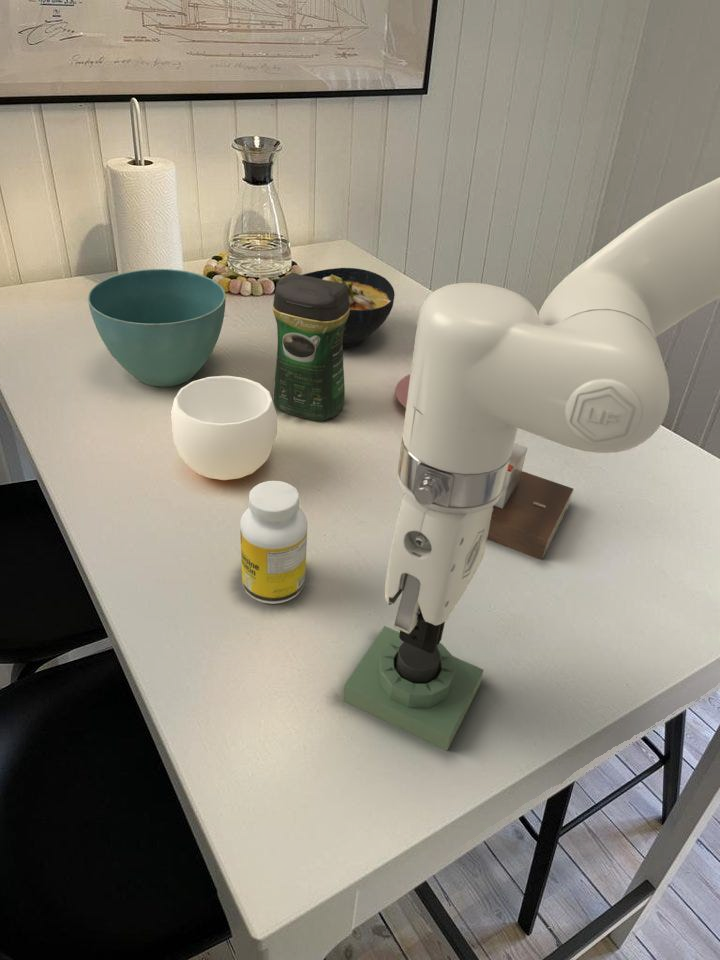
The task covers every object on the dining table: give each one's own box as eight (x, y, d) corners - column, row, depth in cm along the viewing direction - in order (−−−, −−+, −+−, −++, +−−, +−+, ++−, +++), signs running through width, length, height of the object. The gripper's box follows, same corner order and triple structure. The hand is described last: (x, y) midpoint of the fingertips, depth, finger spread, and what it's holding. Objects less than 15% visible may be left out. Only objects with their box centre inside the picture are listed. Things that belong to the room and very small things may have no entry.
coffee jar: (350, 401, 107) (360, 276, 96) (329, 428, 101) (336, 298, 90) (289, 385, 110) (291, 261, 99) (264, 410, 104) (264, 282, 93)
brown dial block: (567, 508, 91) (574, 487, 89) (541, 560, 83) (547, 539, 81) (460, 470, 96) (464, 450, 94) (425, 517, 88) (429, 495, 86)
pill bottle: (246, 560, 80) (243, 472, 73) (307, 563, 80) (310, 476, 73) (237, 605, 74) (234, 515, 68) (303, 608, 75) (306, 519, 68)
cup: (192, 507, 86) (187, 437, 80) (163, 450, 95) (156, 382, 89) (292, 483, 91) (293, 415, 85) (255, 431, 100) (255, 366, 94)
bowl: (408, 336, 126) (415, 278, 120) (351, 374, 114) (355, 312, 108) (326, 307, 133) (328, 251, 127) (263, 340, 121) (263, 280, 115)
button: (444, 661, 66) (446, 648, 65) (427, 690, 63) (430, 677, 62) (407, 644, 67) (409, 631, 66) (389, 672, 65) (391, 659, 64)
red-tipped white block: (503, 476, 90) (511, 440, 87) (519, 482, 89) (528, 445, 86) (485, 502, 86) (494, 465, 83) (502, 508, 85) (511, 471, 82)
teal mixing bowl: (245, 392, 107) (244, 312, 100) (115, 415, 100) (103, 331, 93) (206, 337, 120) (202, 263, 113) (88, 355, 113) (75, 276, 105)
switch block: (480, 685, 69) (487, 656, 66) (446, 752, 63) (453, 723, 61) (382, 641, 72) (386, 612, 70) (342, 701, 66) (344, 671, 64)
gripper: (463, 544, 46) (424, 726, 57) (535, 432, 57) (491, 603, 68) (354, 502, 48) (337, 683, 59) (444, 402, 59) (415, 571, 70)
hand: (419, 640), depth 63 cm, fingers closed
